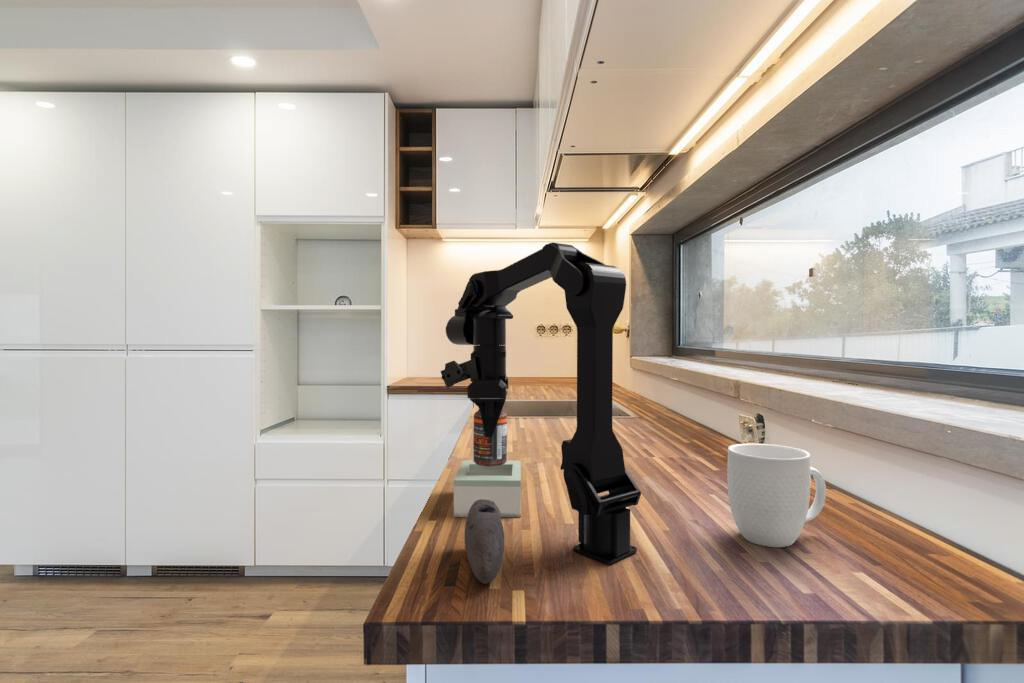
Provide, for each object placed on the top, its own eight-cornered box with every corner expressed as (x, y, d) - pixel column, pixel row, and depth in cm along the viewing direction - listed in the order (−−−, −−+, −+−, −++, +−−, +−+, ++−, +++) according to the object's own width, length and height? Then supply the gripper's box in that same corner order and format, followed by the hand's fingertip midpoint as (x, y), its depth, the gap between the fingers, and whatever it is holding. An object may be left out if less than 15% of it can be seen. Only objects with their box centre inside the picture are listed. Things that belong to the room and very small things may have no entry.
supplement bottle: (466, 465, 95) (466, 400, 95) (484, 458, 100) (484, 396, 100) (496, 468, 92) (496, 402, 92) (513, 461, 97) (512, 398, 97)
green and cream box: (520, 492, 103) (520, 460, 103) (520, 517, 89) (520, 480, 89) (462, 491, 103) (462, 460, 103) (453, 516, 89) (453, 480, 89)
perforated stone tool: (506, 595, 63) (506, 535, 63) (460, 596, 62) (460, 536, 62) (503, 545, 78) (503, 496, 78) (466, 545, 77) (466, 496, 77)
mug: (796, 522, 87) (797, 440, 87) (852, 548, 76) (853, 455, 76) (712, 528, 84) (712, 444, 84) (758, 557, 73) (758, 460, 73)
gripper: (450, 344, 105) (451, 425, 105) (435, 346, 87) (436, 444, 87) (508, 344, 105) (508, 425, 105) (505, 346, 86) (506, 444, 87)
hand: (490, 433), depth 96 cm, fingers closed on supplement bottle, 6 cm apart
